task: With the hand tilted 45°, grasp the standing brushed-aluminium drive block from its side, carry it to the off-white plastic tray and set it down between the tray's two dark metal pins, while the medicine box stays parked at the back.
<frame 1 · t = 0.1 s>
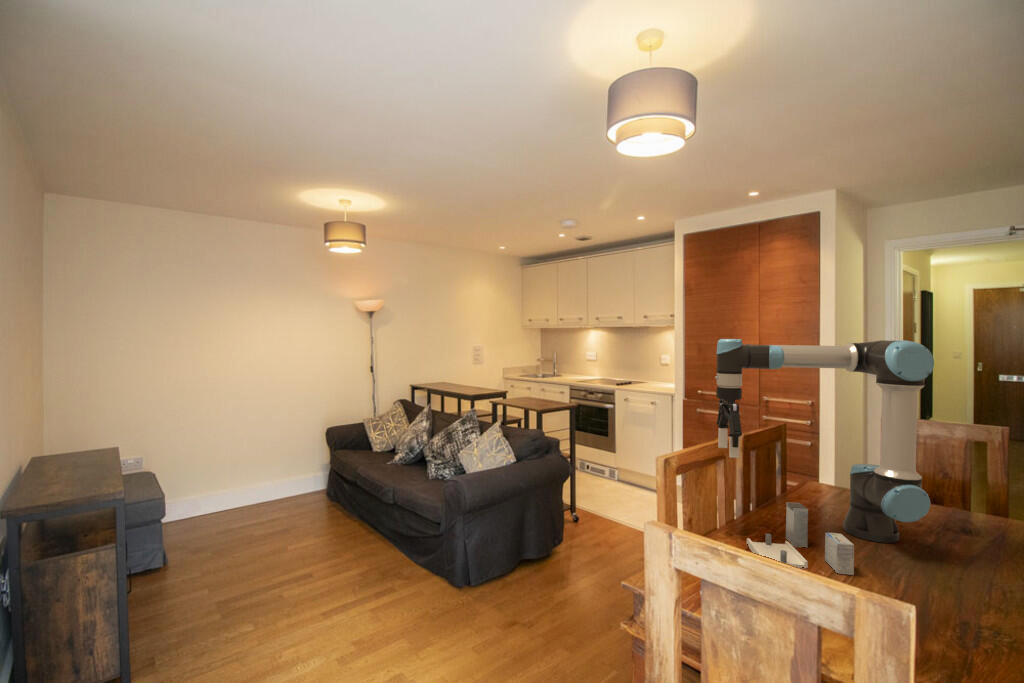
hand: (728, 452, 158), 28 cm above the table, tool pointing down, fingers open, 13 cm apart
medicine box: (838, 569, 139), on the table
tray: (775, 556, 146), on the table
drive: (796, 543, 156), on the table
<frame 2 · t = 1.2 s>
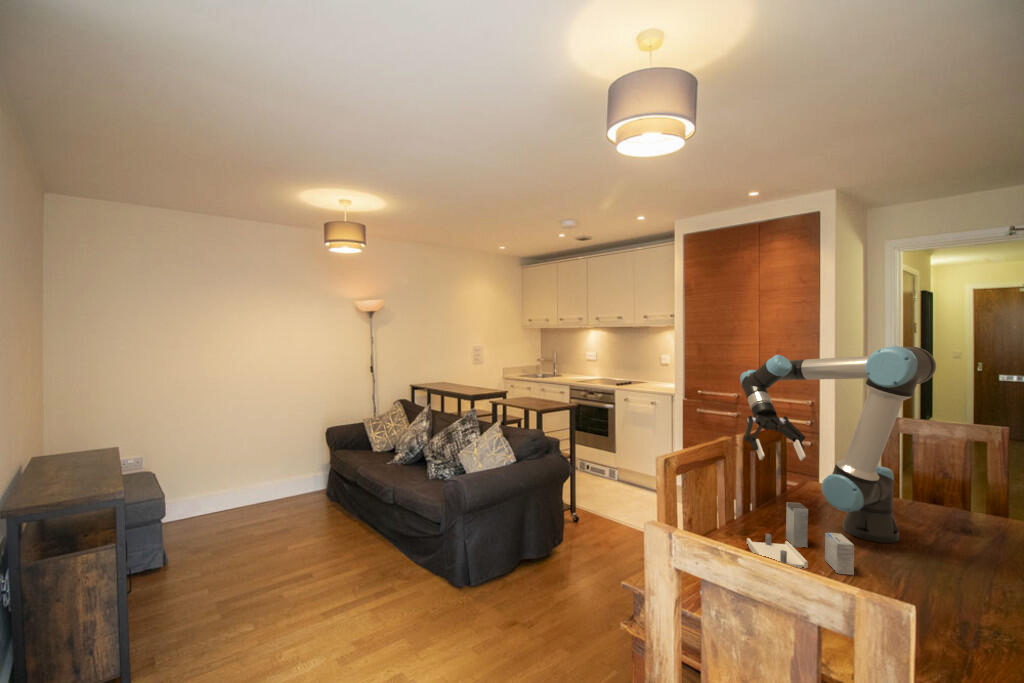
hand: (782, 458, 165), 25 cm above the table, tool tilted 45°, fingers open, 13 cm apart
nothing on the table moved.
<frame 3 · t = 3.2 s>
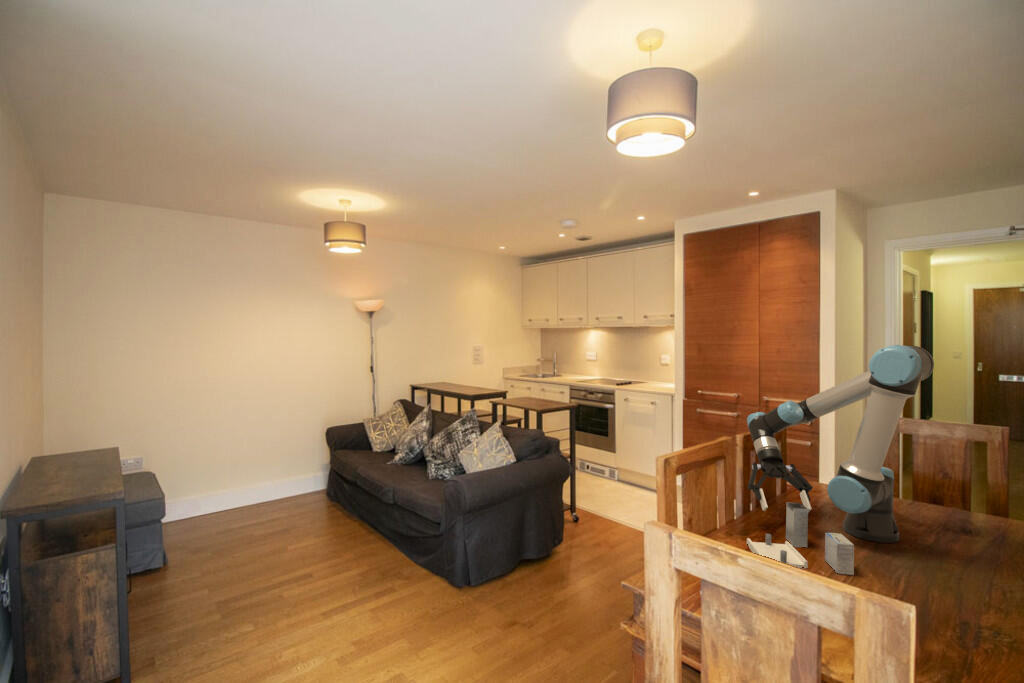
hand: (787, 510, 160), 9 cm above the table, tool tilted 45°, fingers open, 13 cm apart
nothing on the table moved.
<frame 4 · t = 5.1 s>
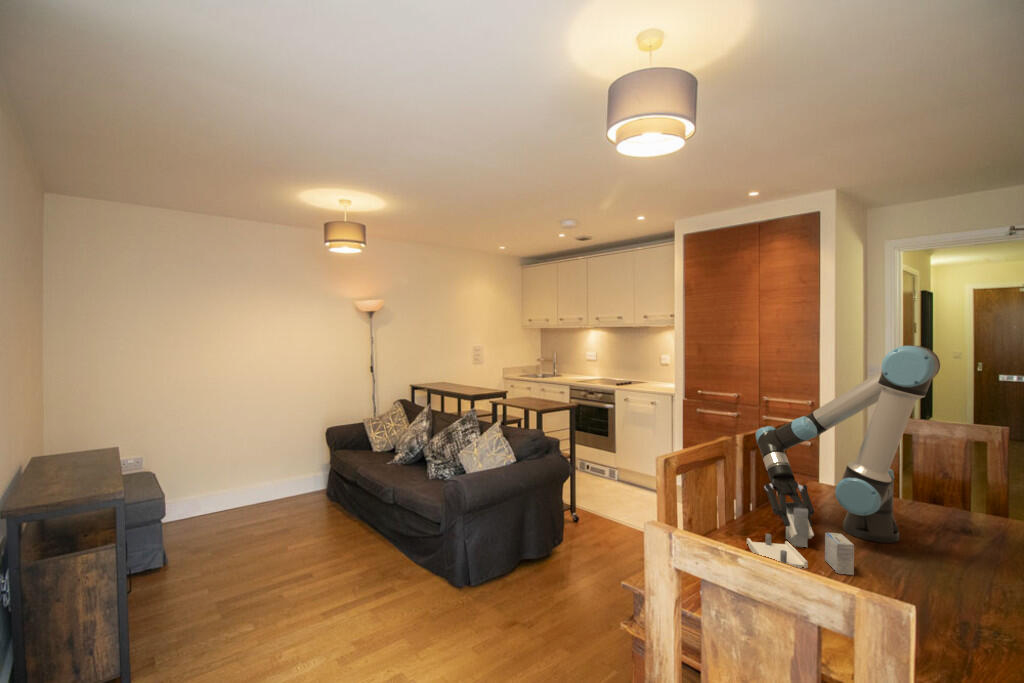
hand: (802, 536, 152), 4 cm above the table, tool tilted 45°, fingers closed on drive, 4 cm apart
drive: (796, 543, 156), on the table, touching gripper
everything else where it was.
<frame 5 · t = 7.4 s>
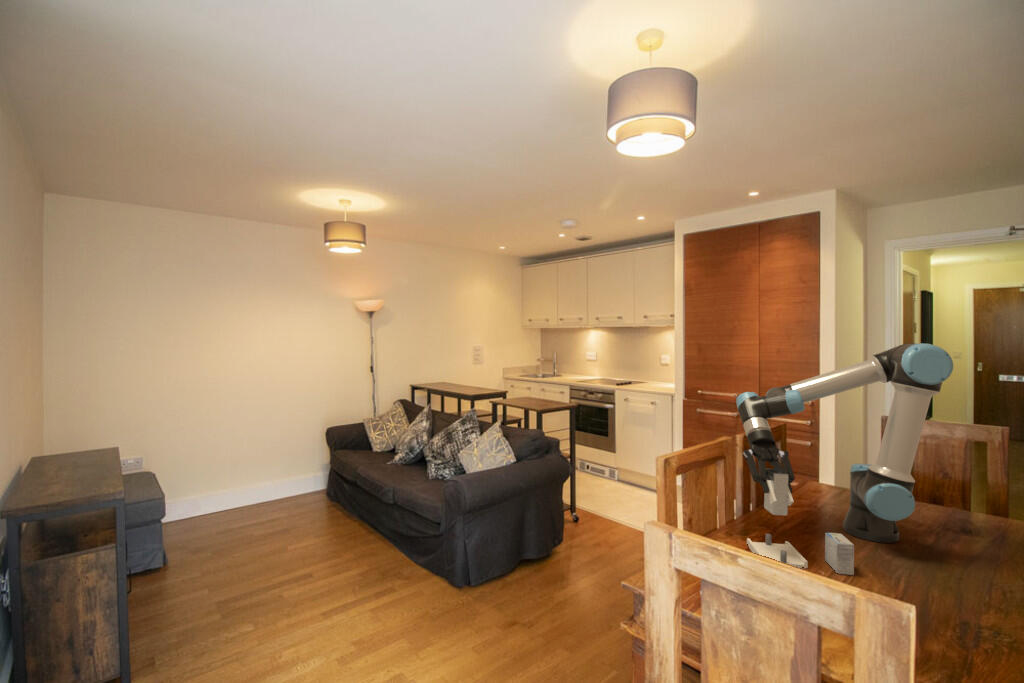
hand: (782, 503, 143), 17 cm above the table, tool tilted 45°, fingers closed on drive, 4 cm apart
drive: (775, 511, 147), point 13 cm above the table, touching gripper
everything else where it was.
when the fingers open (6 cm above the table, at t = 9.7 s): drive stays where it is, resting on tray.
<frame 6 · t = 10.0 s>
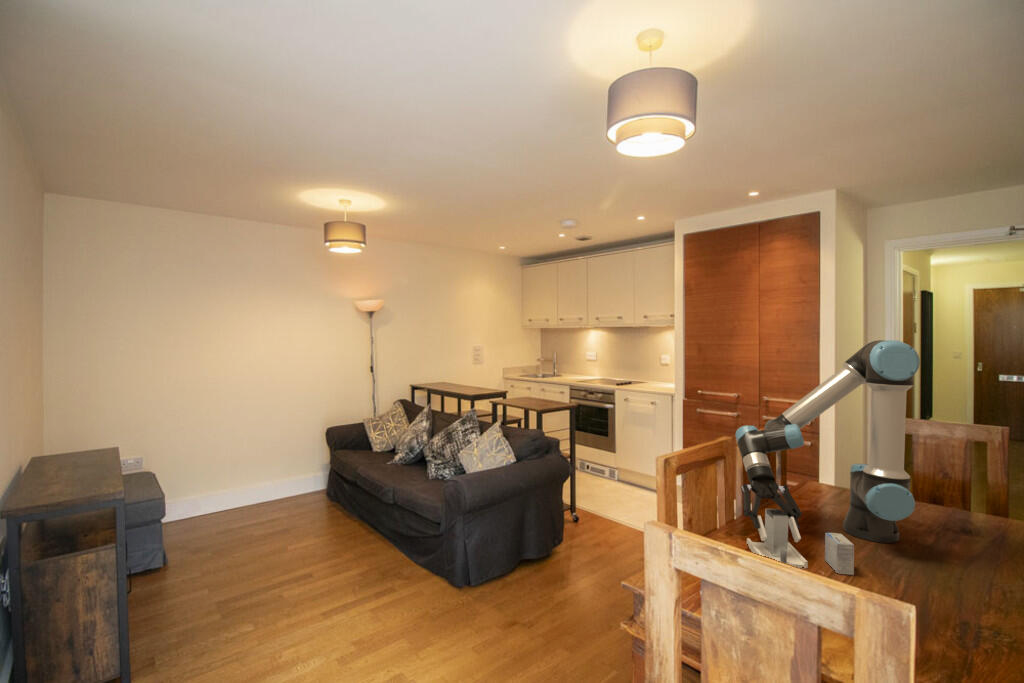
hand: (781, 539, 143), 6 cm above the table, tool tilted 45°, fingers open, 9 cm apart
drive: (775, 552, 147), point 1 cm above the table, touching tray
everything else where it was.
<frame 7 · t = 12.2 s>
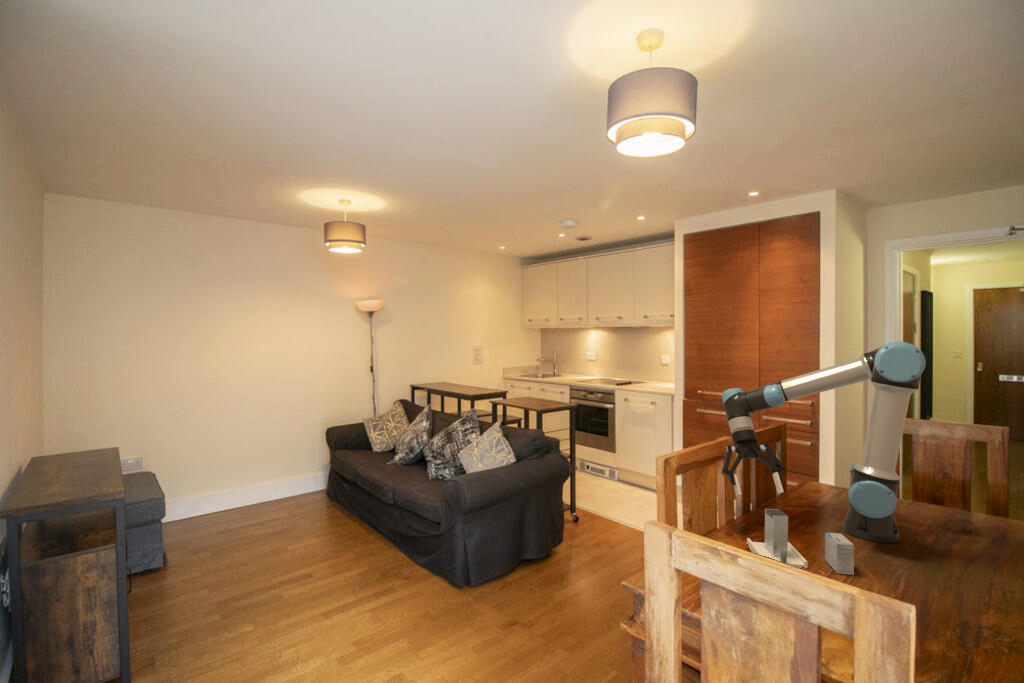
hand: (759, 494, 161), 14 cm above the table, tool tilted 30°, fingers open, 13 cm apart
nothing on the table moved.
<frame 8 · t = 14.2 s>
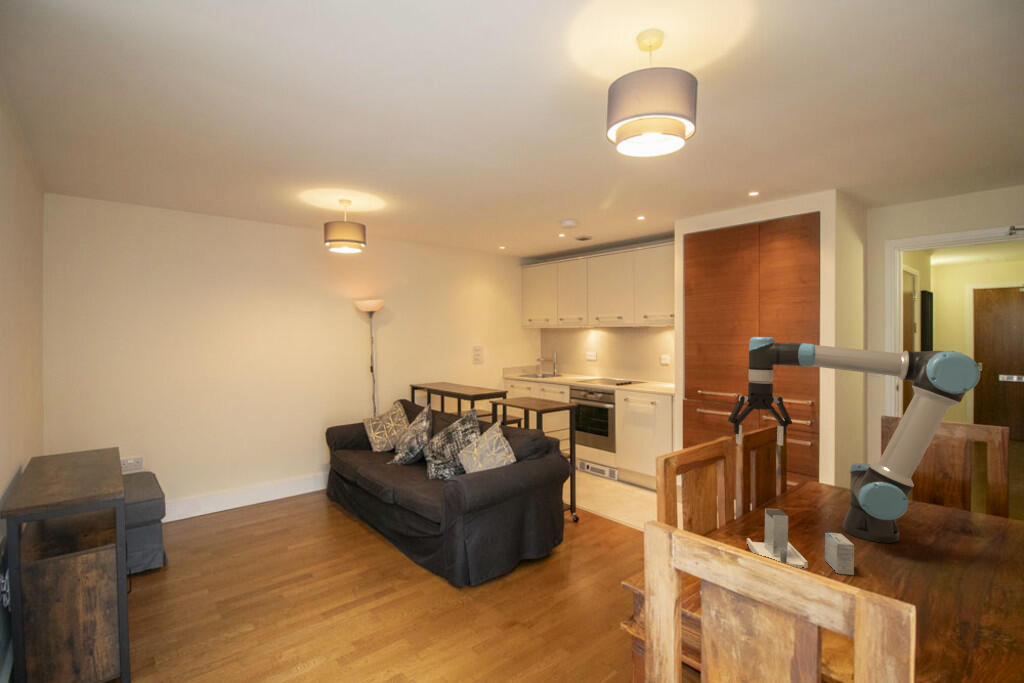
hand: (759, 444, 167), 29 cm above the table, tool pointing down, fingers open, 13 cm apart
nothing on the table moved.
at the end: drive inside the target area on the tray (0.2 cm from its centre), point 1.0 cm above the tray's base; drive tilted 0°; the gripper is holding nothing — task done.
